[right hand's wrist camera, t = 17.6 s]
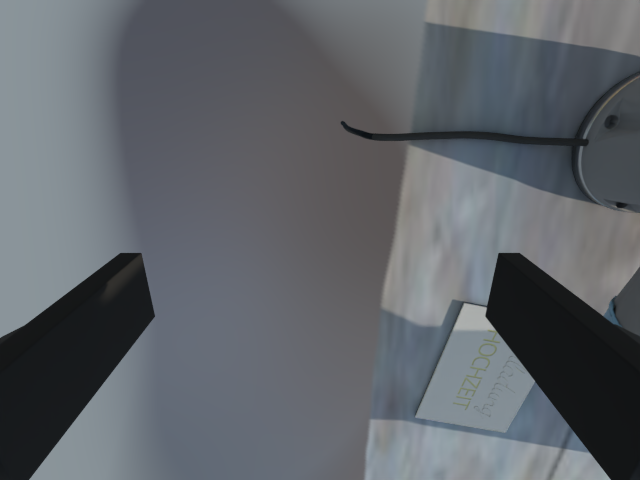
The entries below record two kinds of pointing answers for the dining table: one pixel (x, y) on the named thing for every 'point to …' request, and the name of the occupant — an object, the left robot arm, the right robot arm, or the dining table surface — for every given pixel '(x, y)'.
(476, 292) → the dining table surface
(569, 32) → the dining table surface
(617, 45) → the dining table surface
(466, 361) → the invitation card
